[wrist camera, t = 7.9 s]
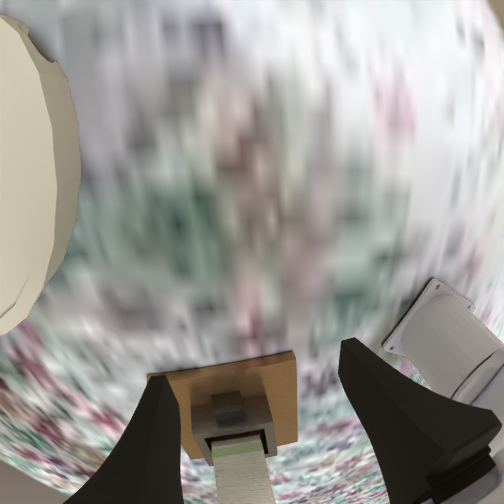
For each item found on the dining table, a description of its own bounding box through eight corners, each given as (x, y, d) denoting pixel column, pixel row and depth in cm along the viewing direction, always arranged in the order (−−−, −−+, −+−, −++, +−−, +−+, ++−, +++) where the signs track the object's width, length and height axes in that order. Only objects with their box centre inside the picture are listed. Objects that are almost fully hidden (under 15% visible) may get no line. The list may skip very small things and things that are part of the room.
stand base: (147, 374, 23) (144, 412, 20) (292, 350, 24) (306, 386, 21) (190, 452, 29) (192, 481, 26) (295, 434, 31) (304, 463, 27)
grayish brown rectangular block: (210, 441, 22) (221, 529, 15) (259, 433, 22) (280, 520, 15) (219, 461, 24) (231, 538, 17) (263, 454, 24) (282, 530, 17)
